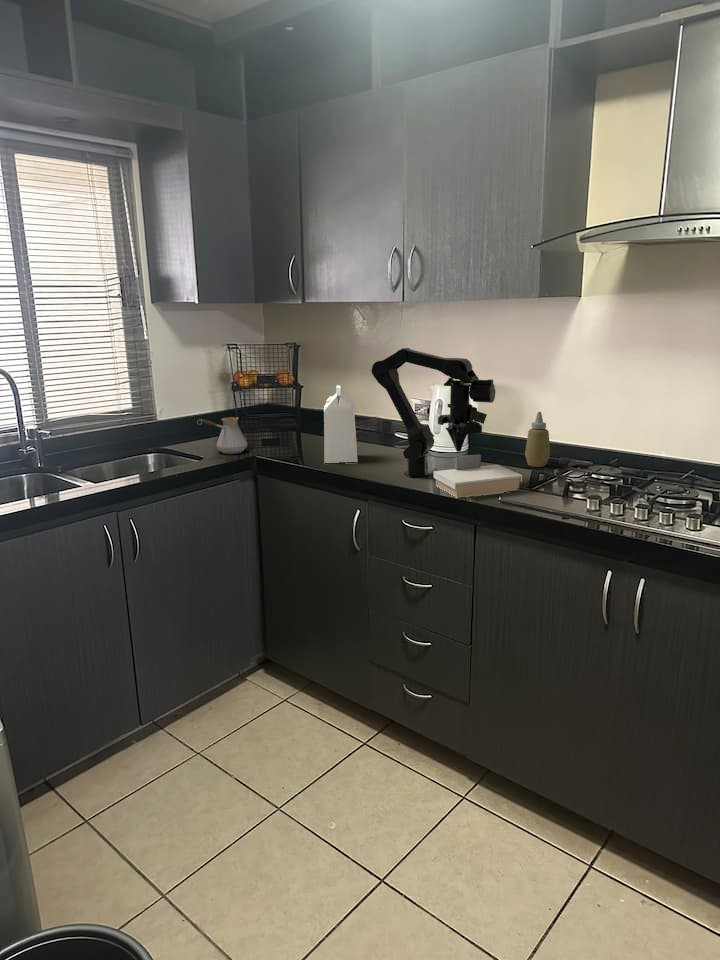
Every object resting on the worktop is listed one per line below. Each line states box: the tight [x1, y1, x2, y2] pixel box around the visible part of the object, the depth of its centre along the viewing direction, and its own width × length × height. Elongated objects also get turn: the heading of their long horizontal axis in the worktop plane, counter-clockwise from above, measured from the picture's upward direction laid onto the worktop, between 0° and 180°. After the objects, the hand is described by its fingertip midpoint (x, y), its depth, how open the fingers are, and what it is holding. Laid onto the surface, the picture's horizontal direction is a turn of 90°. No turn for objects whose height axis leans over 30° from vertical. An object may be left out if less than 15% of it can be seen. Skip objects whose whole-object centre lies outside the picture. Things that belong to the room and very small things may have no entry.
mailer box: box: [435, 478, 520, 499], centre depth 203 cm, size 14×20×4 cm
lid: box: [433, 454, 523, 489], centre depth 202 cm, size 14×22×6 cm
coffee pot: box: [197, 416, 248, 455], centre depth 255 cm, size 21×12×15 cm, turn 146°
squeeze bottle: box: [524, 411, 551, 468], centre depth 228 cm, size 8×8×18 cm
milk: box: [323, 385, 359, 464], centre depth 241 cm, size 12×12×26 cm
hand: (458, 451), depth 213 cm, fingers closed
